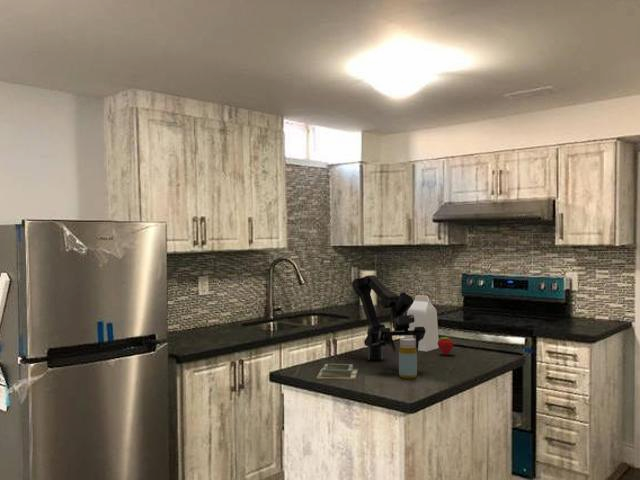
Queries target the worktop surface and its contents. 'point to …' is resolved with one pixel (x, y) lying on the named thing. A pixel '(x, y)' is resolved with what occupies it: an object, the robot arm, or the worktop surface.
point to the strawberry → (445, 345)
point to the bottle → (407, 358)
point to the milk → (424, 322)
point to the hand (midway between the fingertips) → (406, 350)
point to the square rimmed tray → (338, 372)
